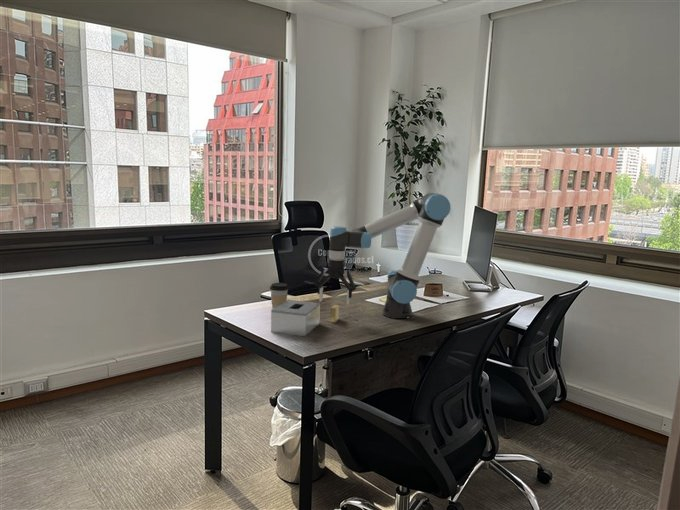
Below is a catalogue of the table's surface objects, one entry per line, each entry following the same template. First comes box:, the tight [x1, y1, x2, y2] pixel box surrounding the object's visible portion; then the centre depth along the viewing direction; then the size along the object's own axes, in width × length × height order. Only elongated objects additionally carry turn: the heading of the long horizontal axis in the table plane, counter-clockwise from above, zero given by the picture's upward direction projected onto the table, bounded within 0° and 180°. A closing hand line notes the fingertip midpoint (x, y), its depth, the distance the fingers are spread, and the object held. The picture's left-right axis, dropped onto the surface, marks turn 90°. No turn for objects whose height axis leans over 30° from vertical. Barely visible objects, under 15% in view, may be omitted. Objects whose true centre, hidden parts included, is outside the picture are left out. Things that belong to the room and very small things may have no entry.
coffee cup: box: [269, 282, 290, 310], centre depth 245 cm, size 9×9×15 cm
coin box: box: [270, 299, 321, 337], centre depth 224 cm, size 16×20×10 cm
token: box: [329, 304, 340, 323], centre depth 238 cm, size 2×6×7 cm, turn 164°
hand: (334, 302), depth 238 cm, fingers open, 13 cm apart
